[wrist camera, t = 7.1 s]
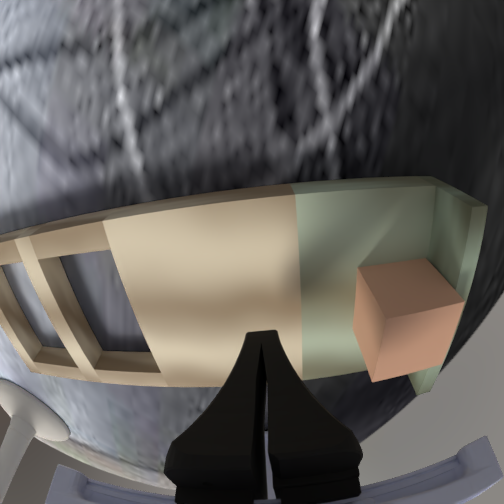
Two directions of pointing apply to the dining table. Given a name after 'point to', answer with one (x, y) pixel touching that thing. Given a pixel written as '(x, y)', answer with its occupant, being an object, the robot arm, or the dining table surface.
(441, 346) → the terracotta block
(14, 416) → the candlestick
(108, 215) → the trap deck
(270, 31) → the dining table surface
